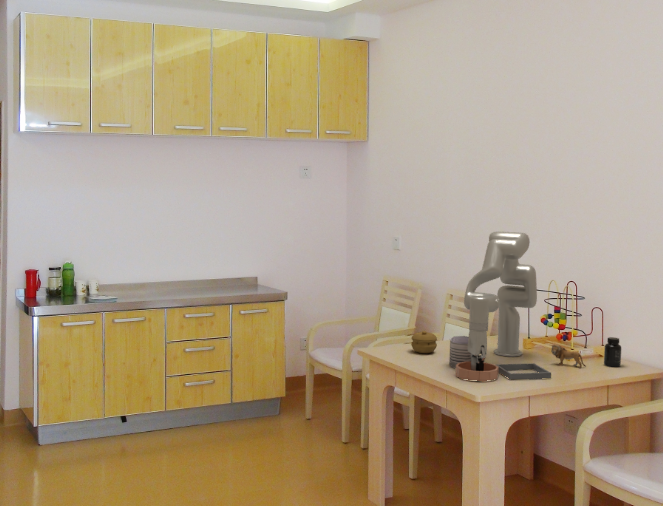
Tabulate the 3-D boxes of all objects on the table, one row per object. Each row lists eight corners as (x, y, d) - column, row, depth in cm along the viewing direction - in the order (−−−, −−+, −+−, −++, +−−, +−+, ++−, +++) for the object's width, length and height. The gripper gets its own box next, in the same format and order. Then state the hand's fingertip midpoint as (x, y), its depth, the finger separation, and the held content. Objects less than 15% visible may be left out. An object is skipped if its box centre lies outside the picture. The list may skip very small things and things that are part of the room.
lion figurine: (550, 365, 323) (551, 345, 323) (551, 362, 328) (552, 342, 328) (585, 369, 318) (586, 348, 317) (586, 366, 323) (587, 345, 322)
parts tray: (494, 370, 314) (494, 364, 313) (534, 369, 317) (534, 363, 316) (509, 380, 298) (509, 374, 298) (550, 378, 301) (551, 372, 301)
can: (479, 365, 322) (480, 338, 320) (470, 371, 312) (471, 342, 311) (454, 361, 327) (455, 334, 326) (444, 367, 318) (445, 339, 317)
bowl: (450, 371, 310) (450, 361, 309) (488, 370, 313) (488, 360, 312) (464, 382, 293) (464, 372, 293) (504, 381, 296) (504, 370, 296)
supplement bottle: (619, 364, 327) (621, 337, 326) (621, 368, 321) (622, 340, 320) (603, 363, 329) (604, 336, 328) (604, 366, 323) (605, 339, 322)
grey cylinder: (469, 370, 305) (469, 356, 304) (480, 370, 306) (481, 355, 305) (473, 373, 300) (473, 359, 299) (485, 373, 301) (485, 358, 300)
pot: (441, 352, 345) (442, 331, 344) (426, 356, 336) (427, 334, 335) (421, 348, 353) (421, 327, 352) (405, 352, 344) (406, 330, 343)
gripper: (462, 322, 309) (461, 365, 311) (477, 331, 292) (475, 376, 294) (479, 322, 310) (478, 365, 312) (495, 330, 293) (493, 376, 295)
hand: (477, 370), depth 303 cm, fingers closed on grey cylinder, 5 cm apart
